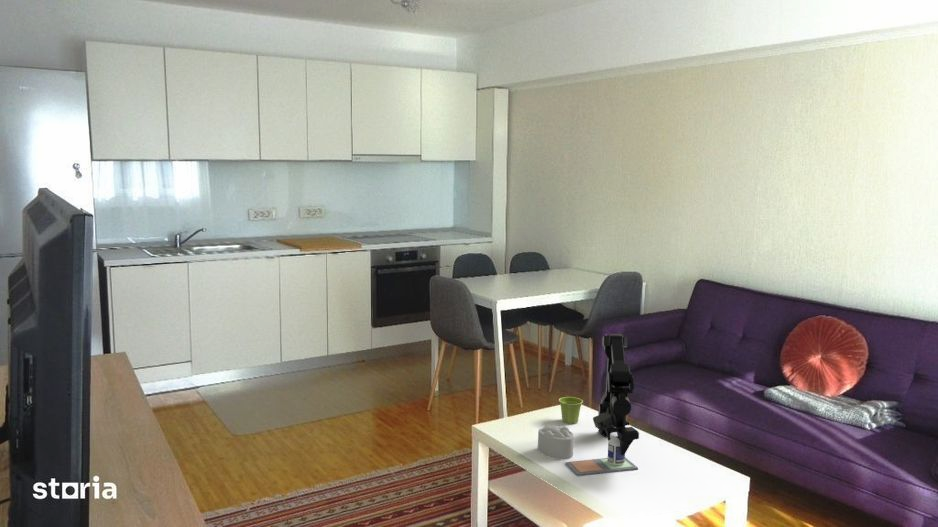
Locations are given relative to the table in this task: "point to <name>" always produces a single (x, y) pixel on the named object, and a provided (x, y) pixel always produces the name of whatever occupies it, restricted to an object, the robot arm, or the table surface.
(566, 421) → the plant pot
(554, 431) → the lumpy-topped squat cylinder
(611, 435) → the pill bottle
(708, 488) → the table surface
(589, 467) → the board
